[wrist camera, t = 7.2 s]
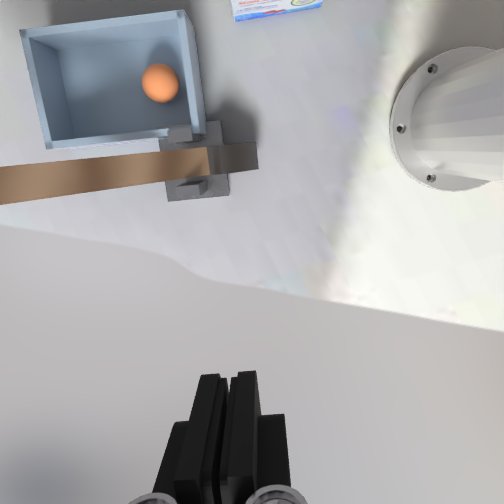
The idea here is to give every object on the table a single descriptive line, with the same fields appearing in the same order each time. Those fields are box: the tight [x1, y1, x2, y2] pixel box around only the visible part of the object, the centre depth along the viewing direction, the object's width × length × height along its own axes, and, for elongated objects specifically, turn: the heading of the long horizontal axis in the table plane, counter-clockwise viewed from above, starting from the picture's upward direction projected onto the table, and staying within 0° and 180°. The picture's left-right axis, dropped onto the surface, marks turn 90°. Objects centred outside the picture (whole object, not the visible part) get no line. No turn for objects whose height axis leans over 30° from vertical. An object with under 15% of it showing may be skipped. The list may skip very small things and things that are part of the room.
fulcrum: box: [156, 120, 229, 202], centre depth 36 cm, size 6×7×6 cm
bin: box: [19, 9, 207, 149], centre depth 35 cm, size 13×9×5 cm
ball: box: [142, 63, 179, 103], centre depth 35 cm, size 3×3×3 cm
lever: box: [0, 142, 259, 205], centre depth 28 cm, size 27×11×3 cm
